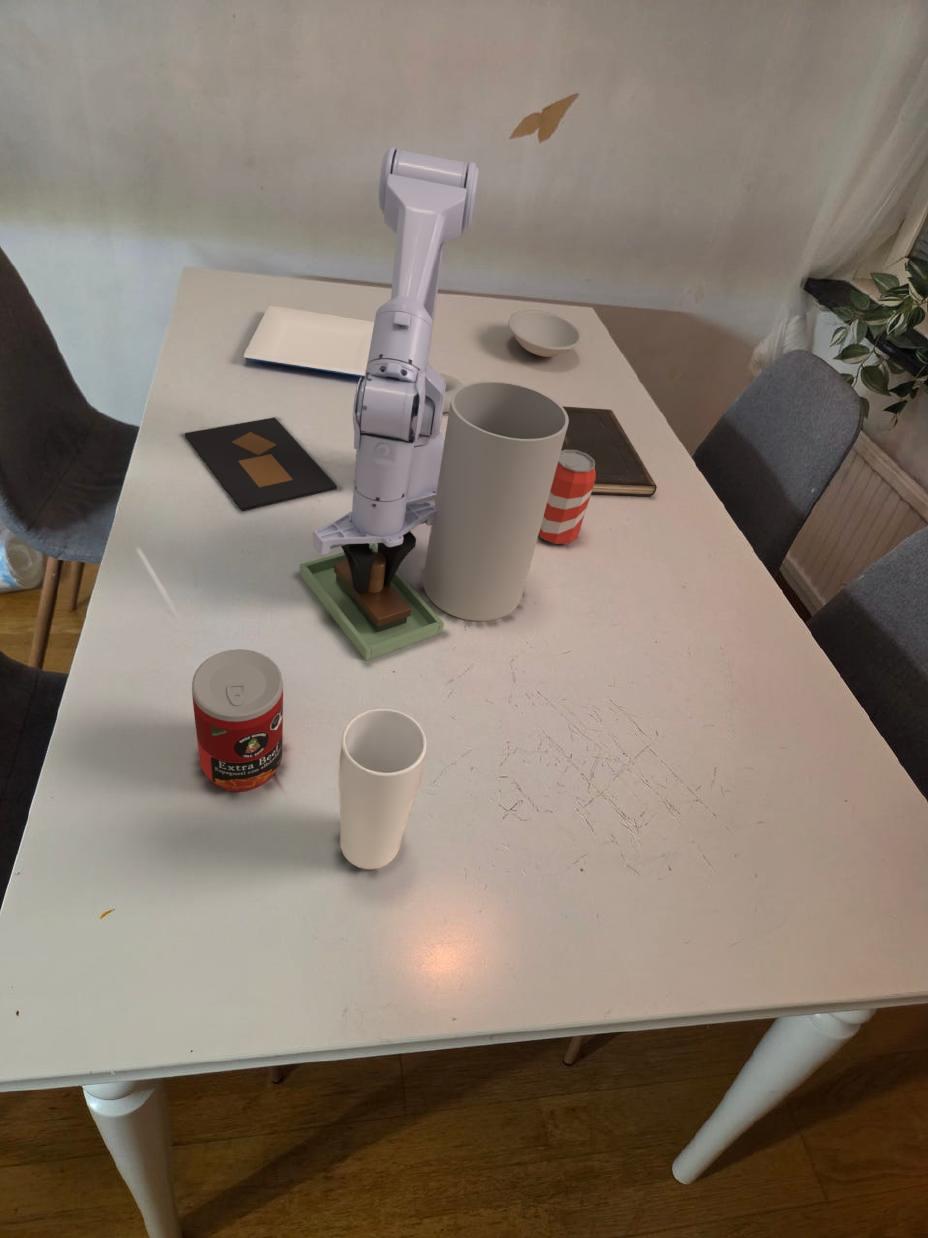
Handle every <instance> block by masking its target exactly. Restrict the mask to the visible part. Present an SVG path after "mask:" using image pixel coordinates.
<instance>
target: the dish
mask: <svg viewBox="0 0 928 1238" xmlns="http://www.w3.org/2000/svg"><path fill="white" fill-rule="evenodd" d="M507 321H508V323H507V324H508V328H509V330H510V331H511V332H512V334H513V336H514V338H515V339H516V341H517V342H518V344H519V345H520V346H521V347H522V348H523V349H524V350H526V351H527V352H529V353H531V354H534V355H536V356H540V357H545V358H554V357H558V356H561V355H564V354H566V353H568V352H569V351H571V350H572V349H574V348H577V347H578V346H579V345H580V344H581V342H582V340H583V334H582V332H581V330H580V329H579V327H577V325H576V324H575V323H573V322H572V321H570V320H568V319H567V318H565V317H563V316H561V315H558V314H556V313H553V312H549V311H543V310H536V309H535V310H534V309H528V310H521V311H517V312H514V313H512V314H511V315H510V316H509V318H508V320H507Z"/></svg>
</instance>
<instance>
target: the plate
mask: <svg viewBox="0 0 928 1238" xmlns="http://www.w3.org/2000/svg"><path fill="white" fill-rule="evenodd" d="M374 322H375V321H371V320H364V319H358V318H352V317H346V316H339V315H333V314H327V313H319V312H314V311H309V310H301V309H295V308H289V307H283V306H276V305H268V306H267V308H266V310H265V312H264V314H263V316H262V318H261V320H260V321H259V324H258V326H257V328H256V330H255V332H254V334H253V335H252V338H251V340H250V341H249V343H248V345H247V347H246V349H245V351H244V353H243V355H242V357H243V358H244V359H246V360H250V361H255V362H263V363H269V364H276V365H281V366H289V367H294V368H302V369H309V370H315V371H321V372H327V373H334V374H341V375H347V376H348V375H349V376H354V377H355V376H356V377H360V378H361V377H362V378H365V372H366V367H367V361H368V355H369V350H370V344H371V339H372V333H373V327H374Z"/></svg>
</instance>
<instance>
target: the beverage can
mask: <svg viewBox="0 0 928 1238" xmlns="http://www.w3.org/2000/svg"><path fill="white" fill-rule="evenodd" d="M595 479H596V471H595V461H594V460H593V459H592V458H591V457H590V456H589V455H588V454H586V453H583V452H580V451H577V450H563V451H561V453H560V457H559V460H558V464H557V468H556V471H555V475H554V479H553V483H552V486H551V490H550V494H549V497H548V501H547V505H546V508H545V512H544V516H543V520H542V523H541V527H540V531H539V534H538V536H539V537H540V538H541V539H543V540H544V541H547V542H549V543H550V544H554V545H557V544H558V545H565V544H571V543H572V542H574V541H575V540H577V539H578V536H579V534H580V531H581V528H582V524H583V521H584V517H585V515H586V511H587V509H588V506H589V501H590V498H591V495H592V494H591V492H592V489H593V486H594V483H595Z"/></svg>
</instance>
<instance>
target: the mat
mask: <svg viewBox="0 0 928 1238" xmlns="http://www.w3.org/2000/svg"><path fill="white" fill-rule="evenodd" d="M184 437H185V438H186V439H187V441H188V442H189V443H190V445H191V446H192V447H193V449H194V450H195V451H196V453H197V455H199V456H200V458H201V460H203V462H204V463H205V465H206V466H207V467H208V468H209V470H210V471H211V472H212V474H213V475H214V477H215V478H216V479H217V480H218V482H219V483H220V484H221V486H222V487H223V489H225V491H226V492H227V494H228V495H229V496H230V497H231V499H232V500H233V502H234V503H235V504H236V505H237V507H238V508H239V510H240V511H241V512H243V511H247V510H252V509H256V508H260V507H265V506H269V505H273V504H277V503H282V502H286V501H291V500H294V499H299V498H303V497H307V496H313V495H316V494H320V493H324V492H329V491H332V490H337V489H338V485H337V484H336V483H335V482H334V481H333V480H332V479H331V477H329V476H328V474H327V472H325V471H324V470H323V468H322V467H320V465H319V464H318V463H317V462H316V461H315V460H314V458H312V457H311V456H310V454H309V453H308V452H307V451H306V450H305V448H304V447H302V446H301V444H300V443H299V442H298V441H297V440H296V439H295V438H294V437H293V436H292V435H291V434H290V432H288V430H287V429H286V428H285V427H284V426H283V424H281V423H280V421H279V420H278V419H277V418H276V417H269V418H264V419H263V418H262V419H257V420H252V421H245V422H241V423H235V424H234V423H233V424H229V425H223V426H222V425H221V426H217V427H211V428H206V429H199V430H195V431H188V432H184Z"/></svg>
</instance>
